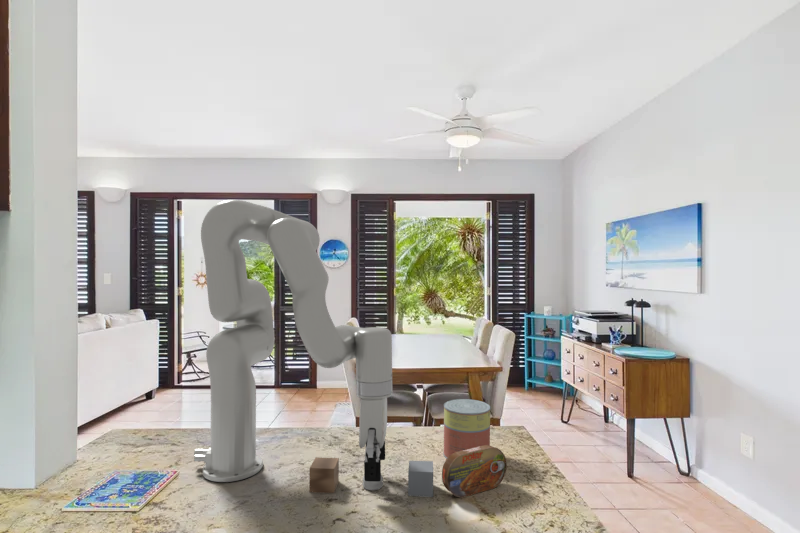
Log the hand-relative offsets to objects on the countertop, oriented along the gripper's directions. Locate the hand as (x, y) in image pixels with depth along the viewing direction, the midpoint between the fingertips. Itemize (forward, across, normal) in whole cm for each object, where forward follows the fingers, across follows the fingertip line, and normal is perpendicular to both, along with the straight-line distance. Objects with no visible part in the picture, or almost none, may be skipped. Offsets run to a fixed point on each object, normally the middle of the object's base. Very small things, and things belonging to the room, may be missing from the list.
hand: (375, 469), depth 93 cm
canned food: (+4, -17, +20) cm, 27 cm away
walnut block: (+3, +1, -11) cm, 11 cm away
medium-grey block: (+4, +1, +9) cm, 10 cm away
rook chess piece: (+4, 0, -1) cm, 4 cm away
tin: (+4, 0, +20) cm, 21 cm away
